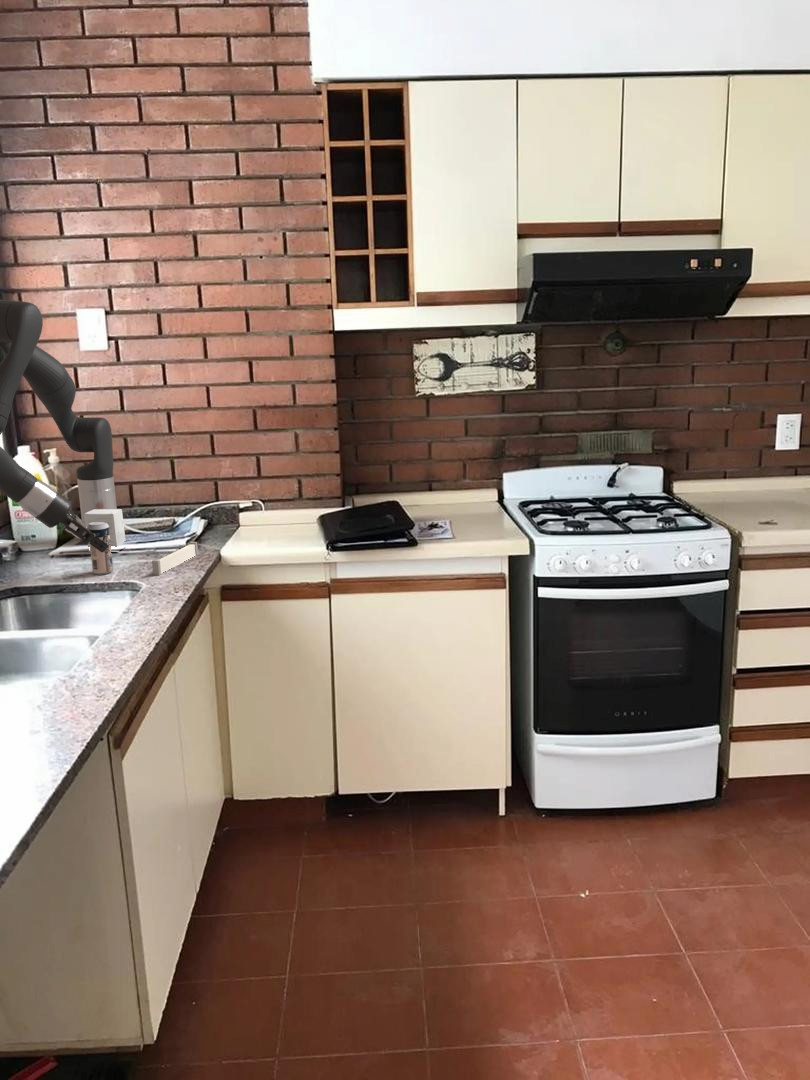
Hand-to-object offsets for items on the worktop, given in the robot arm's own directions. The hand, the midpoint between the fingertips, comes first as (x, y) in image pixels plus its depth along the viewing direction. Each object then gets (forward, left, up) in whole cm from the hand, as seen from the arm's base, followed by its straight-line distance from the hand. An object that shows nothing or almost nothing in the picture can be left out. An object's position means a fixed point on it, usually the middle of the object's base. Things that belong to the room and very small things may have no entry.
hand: (102, 545), depth 200 cm
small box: (-21, +5, -7) cm, 23 cm away
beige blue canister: (0, 0, -7) cm, 7 cm away
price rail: (+3, +16, -7) cm, 18 cm away
